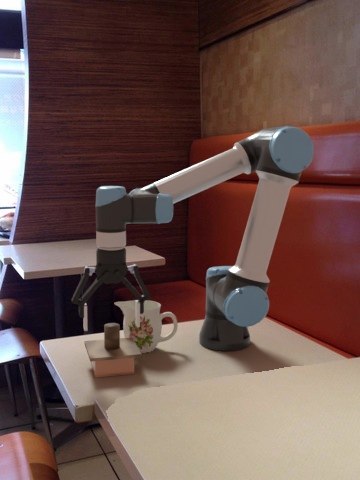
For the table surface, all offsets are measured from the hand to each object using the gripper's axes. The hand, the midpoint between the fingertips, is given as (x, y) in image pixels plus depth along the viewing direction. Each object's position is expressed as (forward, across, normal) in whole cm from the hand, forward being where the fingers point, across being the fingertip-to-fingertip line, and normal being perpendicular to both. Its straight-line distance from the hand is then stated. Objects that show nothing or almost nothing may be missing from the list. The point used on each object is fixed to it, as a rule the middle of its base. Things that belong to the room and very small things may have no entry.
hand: (111, 327), depth 154 cm
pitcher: (+11, -12, -12) cm, 20 cm away
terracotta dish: (+11, 0, 0) cm, 11 cm away
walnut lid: (+6, 0, 0) cm, 6 cm away
